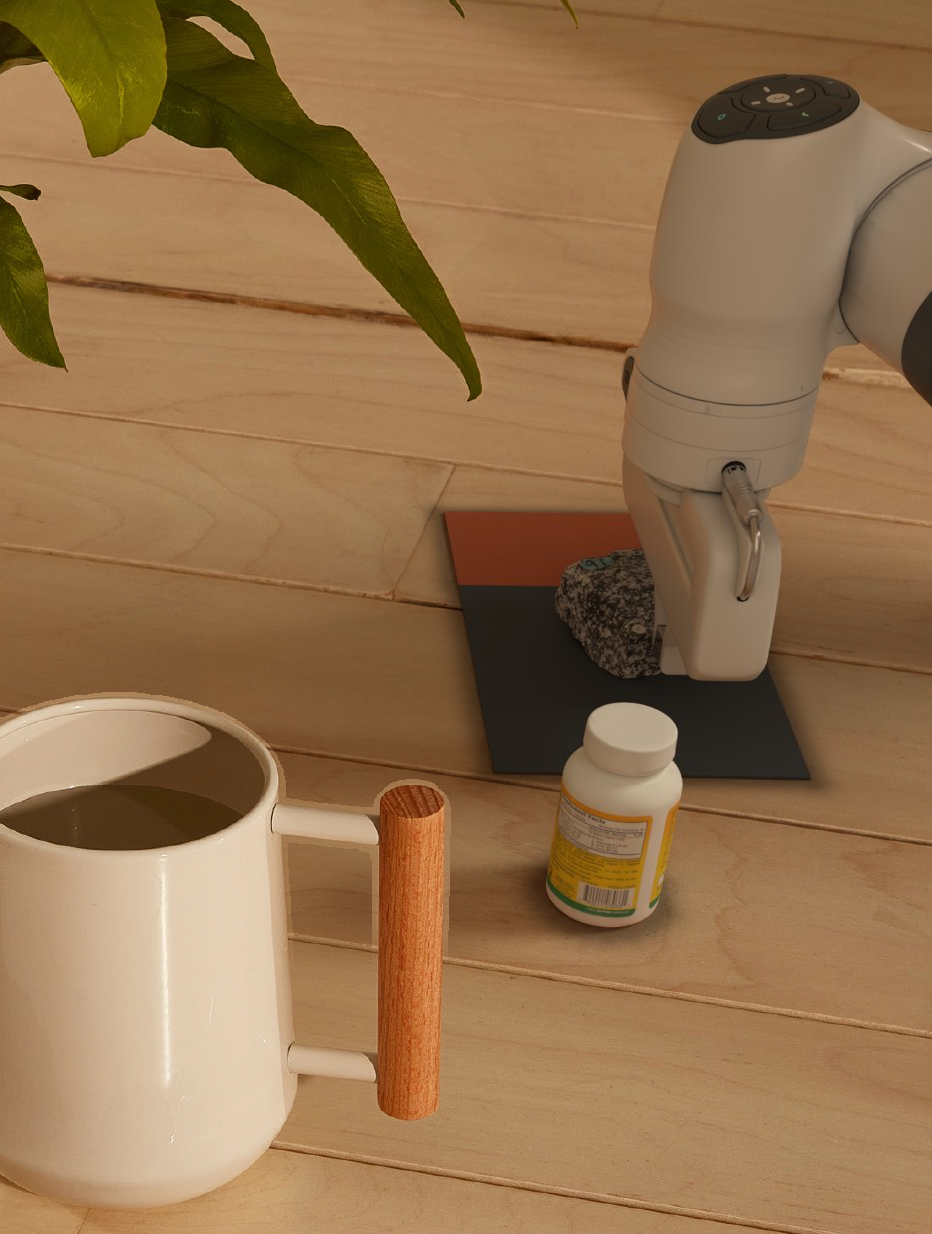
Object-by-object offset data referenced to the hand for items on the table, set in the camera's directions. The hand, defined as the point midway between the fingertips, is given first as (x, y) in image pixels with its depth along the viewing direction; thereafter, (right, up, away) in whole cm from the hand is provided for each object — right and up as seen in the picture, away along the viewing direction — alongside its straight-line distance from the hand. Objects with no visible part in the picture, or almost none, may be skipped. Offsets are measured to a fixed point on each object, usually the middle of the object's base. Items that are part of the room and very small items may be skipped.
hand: (671, 661), depth 115 cm
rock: (0, +2, +6) cm, 7 cm away
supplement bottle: (-7, -12, -12) cm, 19 cm away
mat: (-2, +2, +6) cm, 7 cm away
